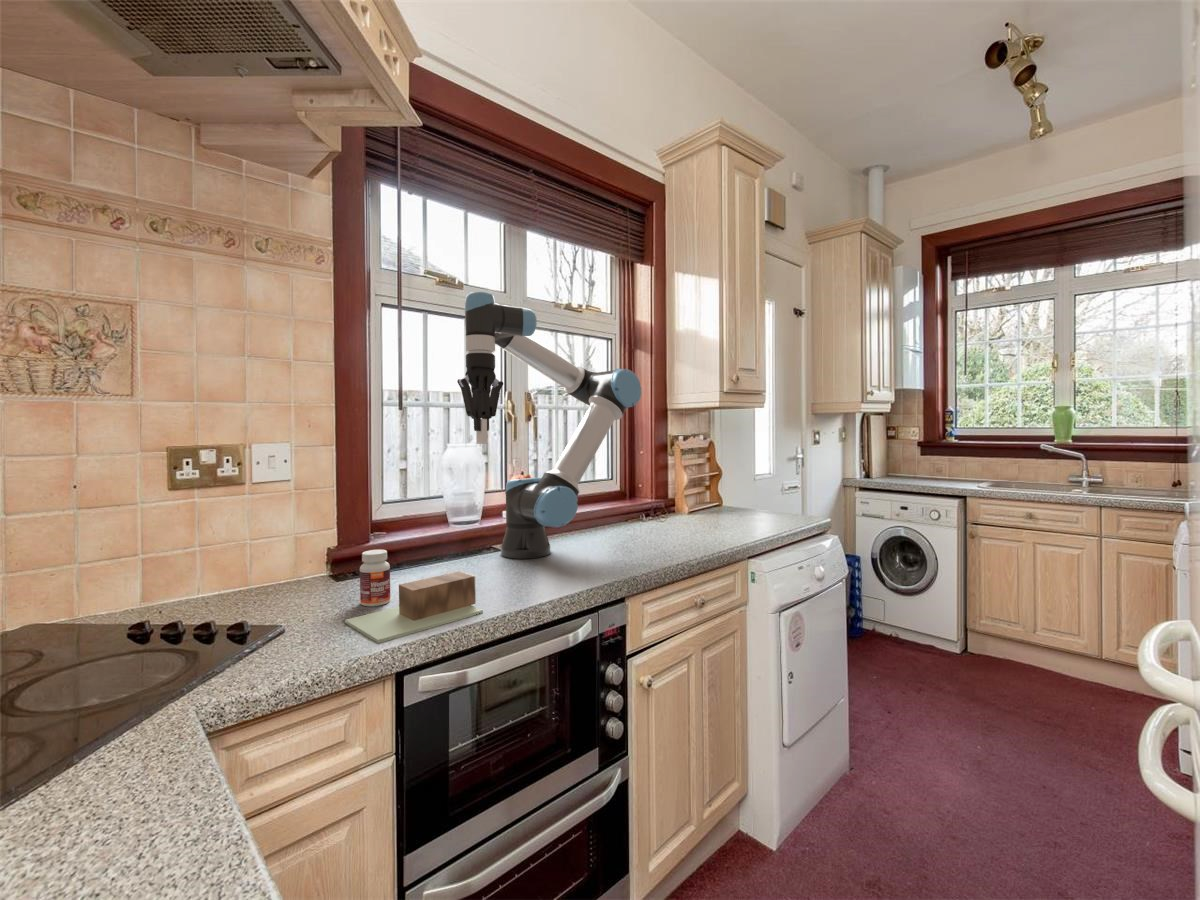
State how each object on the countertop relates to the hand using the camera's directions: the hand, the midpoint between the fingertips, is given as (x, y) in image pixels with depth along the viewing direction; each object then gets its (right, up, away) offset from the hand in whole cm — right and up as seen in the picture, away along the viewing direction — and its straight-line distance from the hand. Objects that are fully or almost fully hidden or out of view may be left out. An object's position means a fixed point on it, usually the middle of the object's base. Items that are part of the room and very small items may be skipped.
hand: (481, 443), depth 142 cm
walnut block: (+2, -32, -24) cm, 40 cm away
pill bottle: (-18, -36, -23) cm, 46 cm away
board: (-6, -36, -33) cm, 49 cm away
